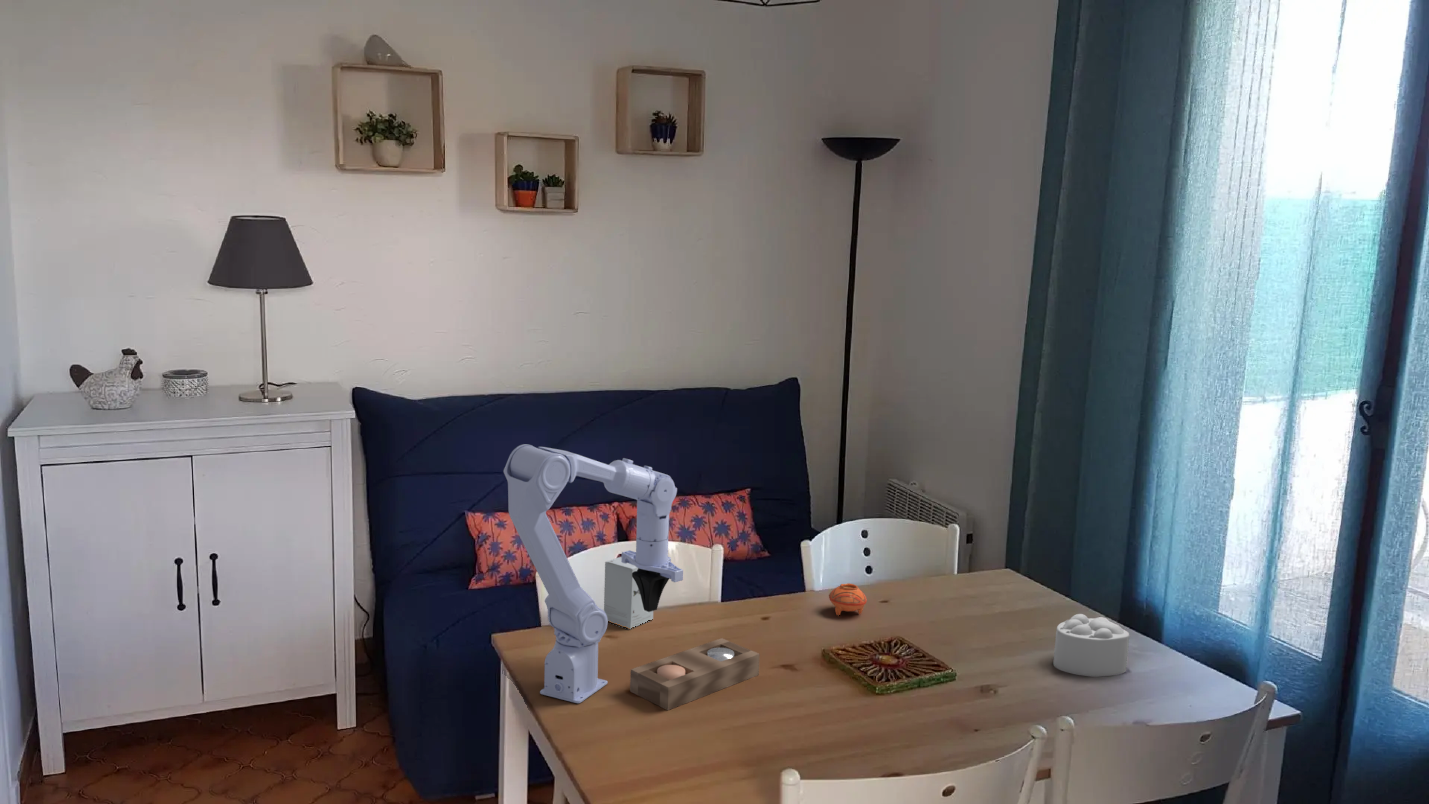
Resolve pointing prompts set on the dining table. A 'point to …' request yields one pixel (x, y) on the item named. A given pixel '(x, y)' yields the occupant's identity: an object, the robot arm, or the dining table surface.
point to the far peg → (720, 653)
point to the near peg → (671, 671)
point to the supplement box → (623, 595)
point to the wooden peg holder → (694, 674)
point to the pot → (847, 598)
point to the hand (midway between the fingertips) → (650, 609)
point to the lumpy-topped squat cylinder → (1091, 647)
